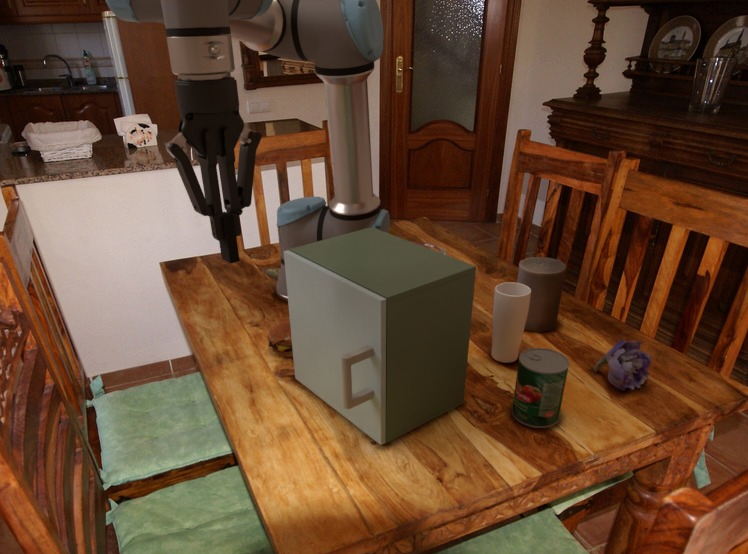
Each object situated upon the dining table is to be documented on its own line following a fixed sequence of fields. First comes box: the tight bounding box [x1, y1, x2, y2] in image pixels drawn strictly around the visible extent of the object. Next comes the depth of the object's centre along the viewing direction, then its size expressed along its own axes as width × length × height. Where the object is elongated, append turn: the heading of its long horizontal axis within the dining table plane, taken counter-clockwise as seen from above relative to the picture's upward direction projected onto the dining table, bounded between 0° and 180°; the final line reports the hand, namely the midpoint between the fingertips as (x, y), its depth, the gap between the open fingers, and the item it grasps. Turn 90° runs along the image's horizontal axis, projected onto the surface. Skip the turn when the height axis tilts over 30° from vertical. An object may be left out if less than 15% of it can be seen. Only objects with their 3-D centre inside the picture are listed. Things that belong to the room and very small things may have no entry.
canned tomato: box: [511, 347, 570, 429], centre depth 96 cm, size 8×8×11 cm
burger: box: [266, 320, 293, 358], centre depth 120 cm, size 10×9×5 cm
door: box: [284, 250, 386, 446], centre depth 94 cm, size 6×26×26 cm, turn 37°
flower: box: [593, 339, 652, 391], centre depth 105 cm, size 9×9×10 cm
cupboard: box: [290, 227, 477, 444], centre depth 100 cm, size 18×26×26 cm
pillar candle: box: [516, 256, 567, 333], centre depth 125 cm, size 10×10×15 cm
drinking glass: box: [490, 281, 531, 364], centre depth 112 cm, size 7×7×15 cm
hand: (230, 259), depth 82 cm, fingers closed
